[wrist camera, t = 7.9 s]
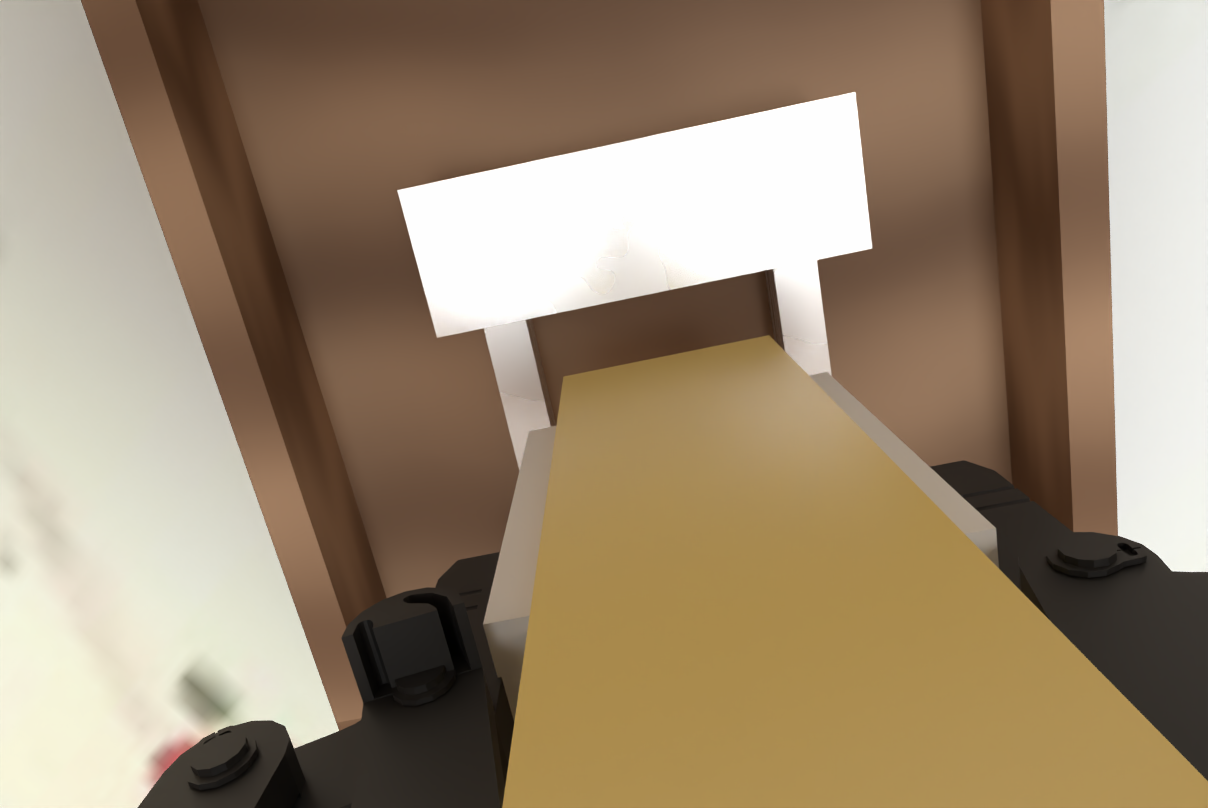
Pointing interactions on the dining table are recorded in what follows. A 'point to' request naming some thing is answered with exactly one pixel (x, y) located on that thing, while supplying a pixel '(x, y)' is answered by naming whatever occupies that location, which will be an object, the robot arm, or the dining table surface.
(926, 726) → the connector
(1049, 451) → the box
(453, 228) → the inlet
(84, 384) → the dining table surface
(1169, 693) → the robot arm
